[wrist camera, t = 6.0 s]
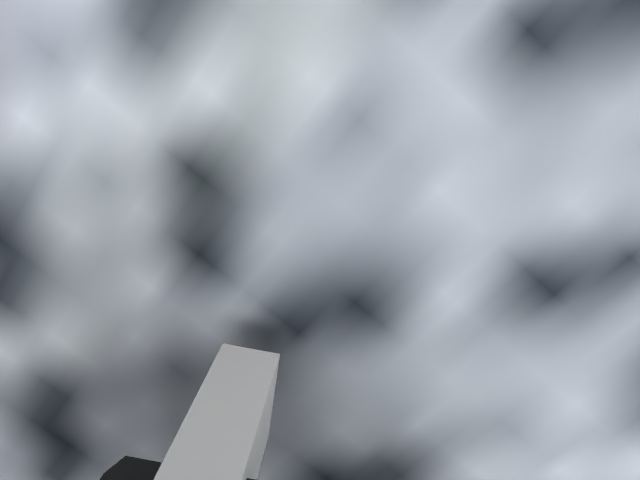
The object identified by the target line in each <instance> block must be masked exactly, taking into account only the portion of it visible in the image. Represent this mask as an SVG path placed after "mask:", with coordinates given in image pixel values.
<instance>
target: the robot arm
mask: <svg viewBox="0 0 640 480" xmlns="http://www.w3.org/2000/svg"><path fill="white" fill-rule="evenodd" d="M279 358H280V354H278V353H272V352H267V351H261V350H256V349H251V348H245V347H240V346H234V345H229V344H222V346H221V348H220V350H219V352H218V354H217V356H216V357H215V359H214V361H213V363H212V365H211V367H210V369H209V371H208V373H207V375H206V377H205V379H204V381H203V383H202V385H201V387H200V389H199V391H198V393H197V395H196V397H195V399H194V401H193V403H192V405H191V407H190V409H189V411H188V413H187V415H186V417H185V419H184V421H183V423H182V424H181V426H180V428H179V430H178V432H177V434H176V436H175V438H174V440H173V442H172V444H171V446H170V448H169V450H168V452H167V454H166V456H165V458H164V460H163V462H162V463H160V462H155V461H150V460H145V459H140V458H134V457H129V456H125V457H124V458H123V459H121V460H120V461H119V462H118V463H116V464H115V465H114V466H113V467H111V468H110V469H109V470H108V471H106V472H105V473H104V474H103V475H102V477H101V479H100V480H257V478H258V474H259V470H260V467H261V463H262V459H263V456H264V452H265V448H266V444H267V441H268V437H269V430H270V423H271V416H272V408H273V401H274V394H275V387H276V380H277V373H278V366H279Z"/></svg>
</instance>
